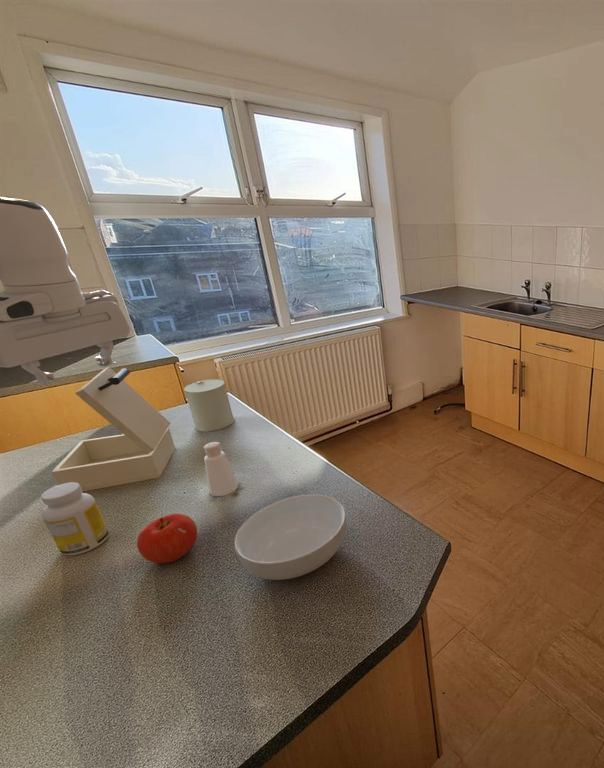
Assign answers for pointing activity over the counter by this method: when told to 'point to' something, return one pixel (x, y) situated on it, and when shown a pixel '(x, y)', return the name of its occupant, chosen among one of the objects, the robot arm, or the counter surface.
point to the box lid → (124, 408)
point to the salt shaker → (218, 471)
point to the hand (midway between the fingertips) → (78, 373)
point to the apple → (167, 538)
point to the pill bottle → (73, 519)
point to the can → (209, 405)
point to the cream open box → (112, 462)
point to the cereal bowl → (291, 536)
